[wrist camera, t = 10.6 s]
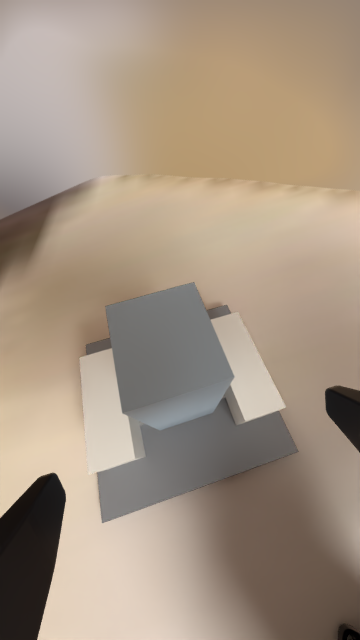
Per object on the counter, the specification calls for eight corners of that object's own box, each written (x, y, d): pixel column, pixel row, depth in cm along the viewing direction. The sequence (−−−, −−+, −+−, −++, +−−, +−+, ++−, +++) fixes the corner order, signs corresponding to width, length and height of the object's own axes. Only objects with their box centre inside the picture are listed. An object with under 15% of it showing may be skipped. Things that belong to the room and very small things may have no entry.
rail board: (293, 451, 18) (322, 452, 14) (106, 519, 16) (78, 543, 12) (225, 309, 24) (232, 283, 20) (89, 348, 23) (68, 328, 19)
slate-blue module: (212, 412, 18) (234, 377, 9) (160, 430, 18) (122, 413, 8) (193, 357, 21) (194, 282, 11) (146, 372, 20) (105, 306, 11)
